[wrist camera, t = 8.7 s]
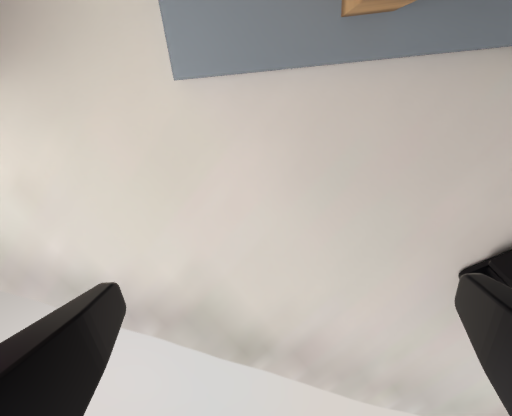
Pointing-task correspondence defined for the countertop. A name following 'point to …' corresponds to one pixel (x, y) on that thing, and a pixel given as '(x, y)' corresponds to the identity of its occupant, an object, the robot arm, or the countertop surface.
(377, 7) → the crossbar
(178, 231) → the countertop surface
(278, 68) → the joint board
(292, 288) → the countertop surface
